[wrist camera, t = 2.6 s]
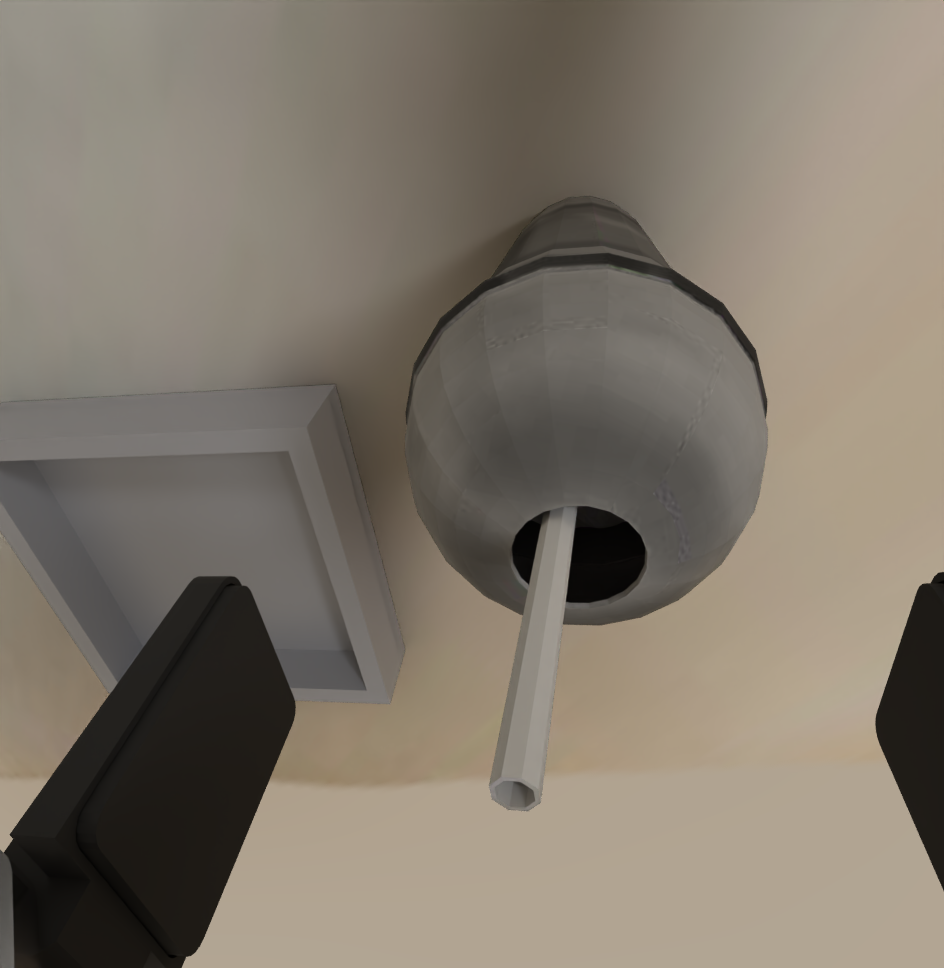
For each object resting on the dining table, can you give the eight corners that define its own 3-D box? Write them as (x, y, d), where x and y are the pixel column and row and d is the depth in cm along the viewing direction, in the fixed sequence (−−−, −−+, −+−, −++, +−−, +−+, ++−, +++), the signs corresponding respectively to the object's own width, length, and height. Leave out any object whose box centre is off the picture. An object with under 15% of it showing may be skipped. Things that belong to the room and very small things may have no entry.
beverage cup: (540, 393, 26) (472, 1016, 10) (436, 228, 23) (79, 736, 7) (722, 301, 23) (1063, 979, 7) (631, 98, 20) (851, 438, 4)
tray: (1, 402, 30) (-59, 442, 27) (335, 384, 27) (306, 426, 24) (143, 643, 39) (108, 693, 36) (405, 650, 36) (390, 704, 33)
